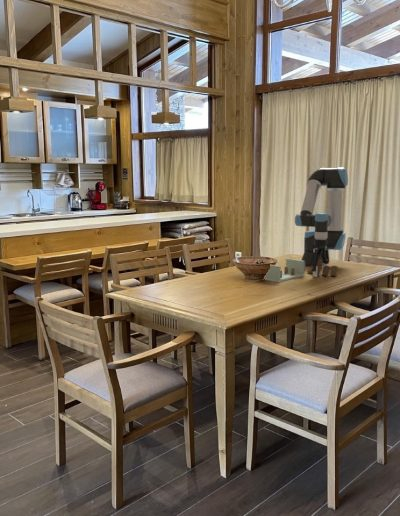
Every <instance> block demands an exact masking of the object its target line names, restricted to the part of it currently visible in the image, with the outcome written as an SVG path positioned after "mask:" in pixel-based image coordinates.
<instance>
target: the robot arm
mask: <svg viewBox="0 0 400 516" xmlns="http://www.w3.org/2000/svg"><path fill="white" fill-rule="evenodd" d="M347 171H348V170H347V169H346V168H345V167H321V168H318V169H317V170H316V169H315V170H314V172H312V174H311V175H310V176H309V178H307V182H306V186H307V188H306V192H305V194H304V195H305V196H304V199H303V201H302V205H301V210H300V213H298V214H295V216H294V224H295V225H294V226H296V227H312V228H313V227H314V229H311V230H306V231H305V232H304V237H303V238H304V239H303V241H304V245H303V246H304V247H303V254H302V257H301V260H302V261H305V266H311V267H312V268H313V274H312V277H314V278H317V277H318V276H317V269H318V266H317V263H318V260H319V259H322V264H321V273H322V272H323V268H324V267H325V266H328V264H329V263H330V254H329V251H330V250H333V251H340V250H341V251H342V249H343V248H344V245H345V241H346V235H347V234H346V232H344V229H343V228H342V214H343V213H342V209H343V191H344V190H345V189H346V187H347V186H348V184H349V176H348V172H347ZM323 186H324V187H325V186H326V189H327V191H328V207H327V209H328V210H327V212H328V213H327V212H316V213H315V214H313V213H314V210H315V207H316V203H317V199H318V194H319V190H320V189H321V188H322V187H323Z"/></svg>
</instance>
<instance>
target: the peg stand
mask: <svg viewBox="0 0 400 516" xmlns="http://www.w3.org/2000/svg"><path fill="white" fill-rule="evenodd" d="M305 266H306V265H305V261H302V259H293V258H288V257H287V258H285V266H284V269H283V270H284V271H283V270H281V267H282V266H281V265H274V264H270V269H269V270H268V272H267V273H266V275H265V276H264V279H265V281H270V282H274V283H275V282H276V283H281V282H285V281H290V280H293V279H297V278H301V276H302V277H304V276H306V275H305V274H306V273H305V270H306V267H305ZM264 279H263V280H264Z"/></svg>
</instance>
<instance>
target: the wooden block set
mask: <svg viewBox="0 0 400 516" xmlns="http://www.w3.org/2000/svg"><path fill="white" fill-rule="evenodd" d="M321 264H322V259H319V260H318V263H317V266H318V269H317V277H320V274H321V276H323V277H329V275H330V276H331V277H337V275H338V270H339V269H338V268H339V267H338V265H332V266H329V265H327V266H325V267H324V268H323V272H322V271H321V270H322V265H321ZM330 268H331V270H330ZM329 272H330V274H329ZM306 273H307V274H311V273H313V267H312V268H311V269H309V270H308V271H307V272H306Z"/></svg>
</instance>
